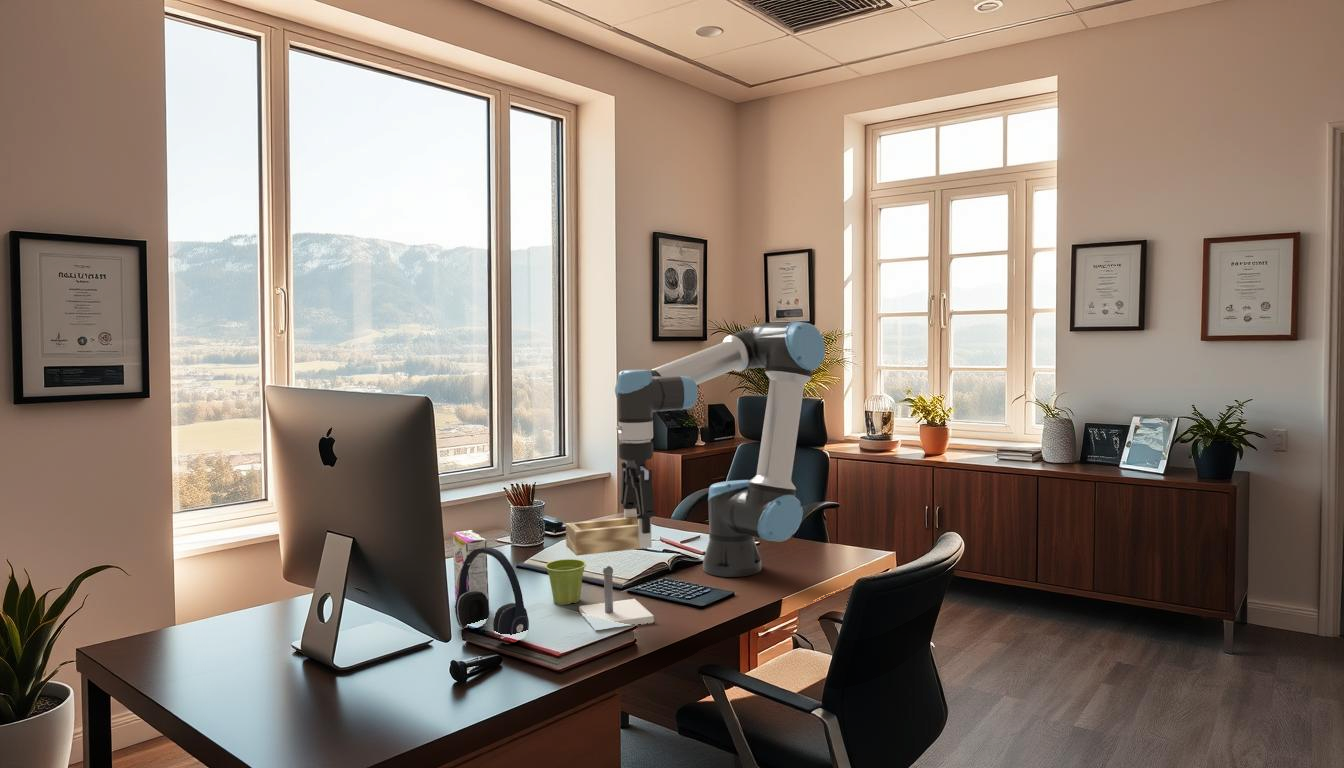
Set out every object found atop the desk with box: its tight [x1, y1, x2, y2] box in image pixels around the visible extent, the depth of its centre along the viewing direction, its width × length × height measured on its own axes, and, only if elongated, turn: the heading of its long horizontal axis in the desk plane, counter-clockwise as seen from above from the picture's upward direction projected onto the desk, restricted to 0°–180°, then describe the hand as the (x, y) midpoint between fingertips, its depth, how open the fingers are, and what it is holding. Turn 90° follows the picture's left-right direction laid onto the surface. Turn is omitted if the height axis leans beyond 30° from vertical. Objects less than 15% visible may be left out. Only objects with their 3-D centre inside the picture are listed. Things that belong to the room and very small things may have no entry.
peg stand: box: [578, 565, 655, 626], centre depth 191 cm, size 13×13×12 cm
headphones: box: [454, 546, 530, 635], centre depth 181 cm, size 20×7×18 cm, turn 47°
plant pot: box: [544, 558, 587, 606], centre depth 204 cm, size 9×9×9 cm
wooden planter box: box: [565, 517, 643, 557], centre depth 190 cm, size 16×9×5 cm, turn 111°
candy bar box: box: [451, 529, 490, 606], centre depth 202 cm, size 11×5×16 cm, turn 31°
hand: (637, 542), depth 192 cm, fingers closed on wooden planter box, 9 cm apart
